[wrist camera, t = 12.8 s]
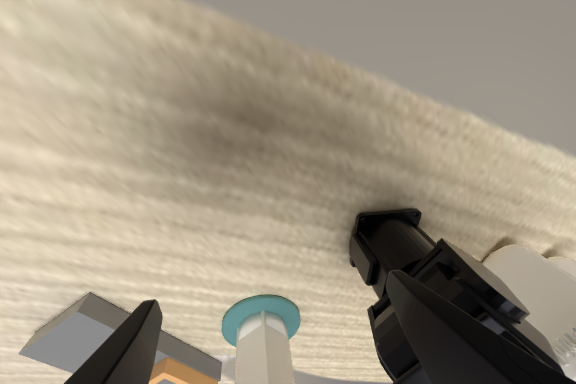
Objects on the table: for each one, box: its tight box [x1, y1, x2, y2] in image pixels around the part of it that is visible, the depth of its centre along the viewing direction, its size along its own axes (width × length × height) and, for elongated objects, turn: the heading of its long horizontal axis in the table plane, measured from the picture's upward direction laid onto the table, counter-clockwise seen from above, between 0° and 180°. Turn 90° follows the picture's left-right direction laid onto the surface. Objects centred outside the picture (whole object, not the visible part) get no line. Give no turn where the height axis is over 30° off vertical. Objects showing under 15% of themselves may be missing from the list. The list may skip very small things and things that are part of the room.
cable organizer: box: [482, 245, 576, 382], centre depth 27 cm, size 15×11×12 cm
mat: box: [222, 295, 300, 347], centre depth 28 cm, size 9×9×1 cm
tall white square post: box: [235, 310, 295, 384], centre depth 24 cm, size 5×5×10 cm
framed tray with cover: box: [19, 293, 222, 384], centre depth 26 cm, size 18×8×4 cm, turn 35°
